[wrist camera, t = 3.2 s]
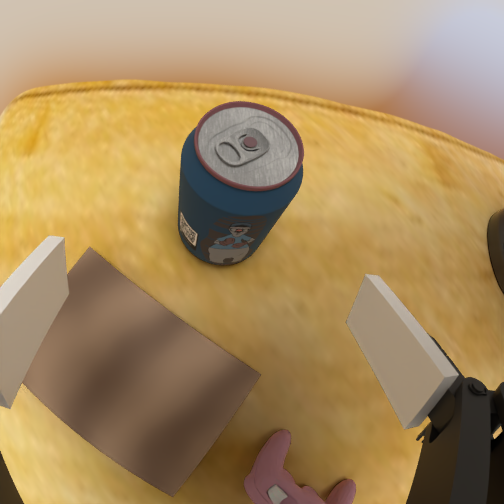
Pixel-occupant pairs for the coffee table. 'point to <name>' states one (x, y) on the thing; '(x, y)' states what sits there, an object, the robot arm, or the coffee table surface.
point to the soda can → (236, 180)
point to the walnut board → (135, 377)
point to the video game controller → (286, 479)
